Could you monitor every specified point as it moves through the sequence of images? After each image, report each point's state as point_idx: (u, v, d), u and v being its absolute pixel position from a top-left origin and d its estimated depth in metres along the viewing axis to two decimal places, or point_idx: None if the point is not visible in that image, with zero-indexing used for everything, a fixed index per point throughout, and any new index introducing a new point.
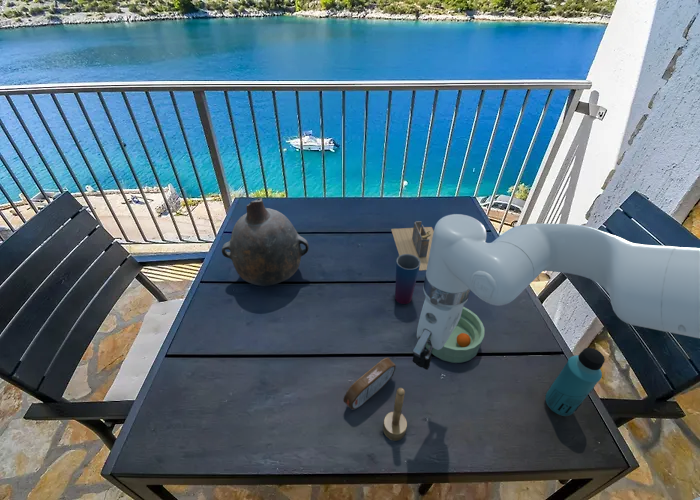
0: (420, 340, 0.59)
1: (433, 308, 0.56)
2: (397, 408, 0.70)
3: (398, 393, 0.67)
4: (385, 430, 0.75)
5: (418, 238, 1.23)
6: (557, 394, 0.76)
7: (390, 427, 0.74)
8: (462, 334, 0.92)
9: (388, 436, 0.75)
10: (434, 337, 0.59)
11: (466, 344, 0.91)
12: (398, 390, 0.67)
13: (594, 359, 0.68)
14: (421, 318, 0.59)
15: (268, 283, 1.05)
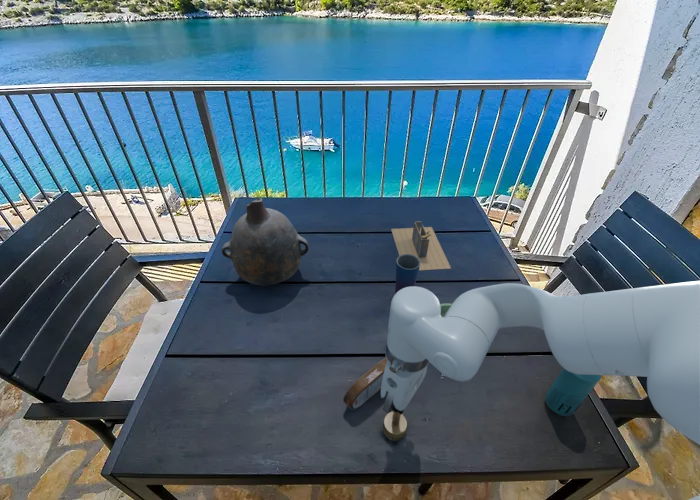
0: (386, 402, 0.62)
1: (393, 374, 0.57)
2: None
3: None
4: (385, 430, 0.75)
5: (418, 238, 1.23)
6: (557, 394, 0.76)
7: (390, 427, 0.74)
8: None
9: (388, 436, 0.75)
10: (396, 400, 0.60)
11: None
12: None
13: None
14: (383, 381, 0.60)
15: (268, 283, 1.05)
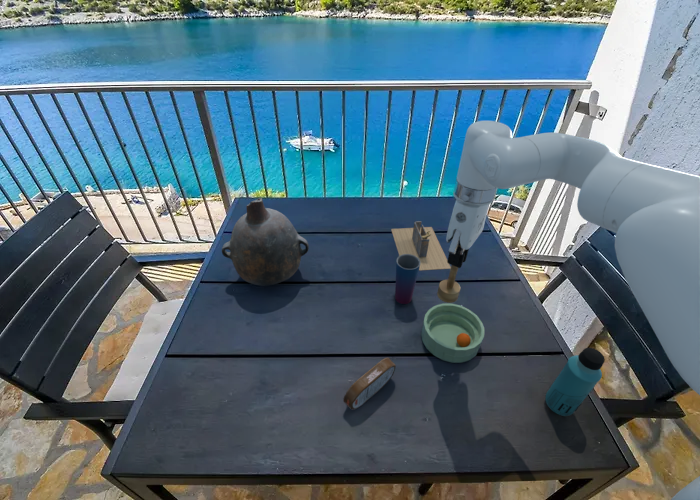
0: (452, 242, 0.70)
1: (463, 207, 0.65)
2: None
3: (458, 245, 0.75)
4: (440, 293, 0.83)
5: (418, 238, 1.23)
6: (557, 394, 0.76)
7: (445, 290, 0.82)
8: (462, 334, 0.92)
9: (443, 298, 0.83)
10: (463, 236, 0.68)
11: (466, 344, 0.91)
12: None
13: (594, 359, 0.68)
14: (452, 219, 0.68)
15: (268, 283, 1.05)
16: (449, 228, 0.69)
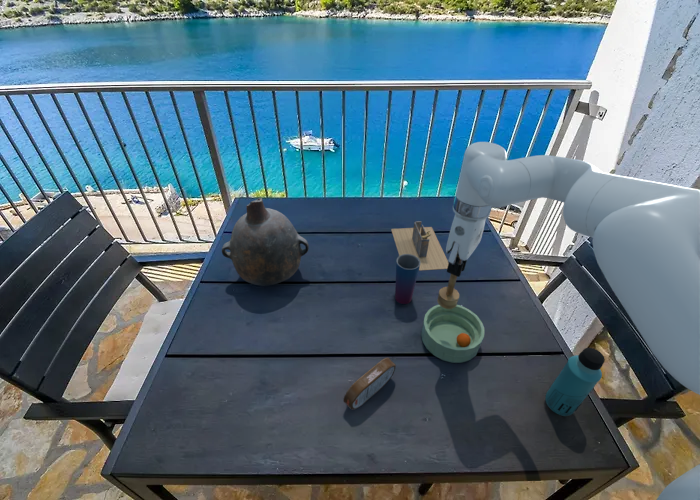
0: (451, 254, 0.74)
1: (462, 221, 0.70)
2: None
3: None
4: (440, 300, 0.87)
5: (418, 238, 1.23)
6: (557, 394, 0.76)
7: (445, 296, 0.87)
8: (462, 334, 0.92)
9: (443, 305, 0.88)
10: (461, 248, 0.72)
11: (466, 344, 0.91)
12: None
13: (594, 359, 0.68)
14: (451, 232, 0.72)
15: (268, 283, 1.05)
16: (448, 240, 0.74)
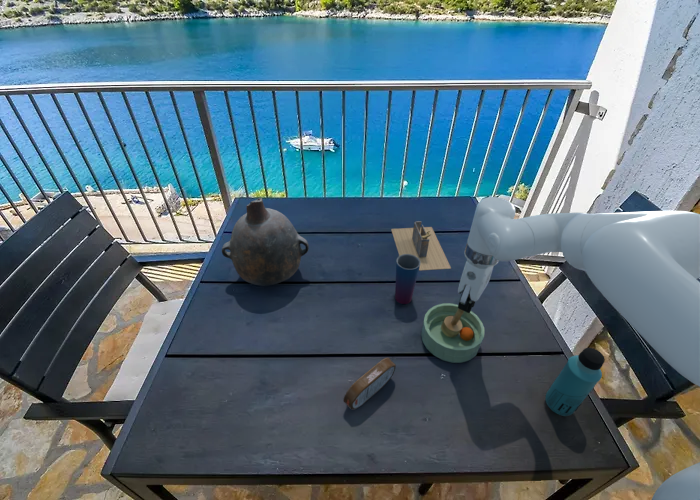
0: (463, 295, 0.80)
1: (473, 267, 0.76)
2: None
3: None
4: (446, 330, 0.94)
5: (418, 238, 1.23)
6: (557, 394, 0.76)
7: (451, 327, 0.93)
8: (469, 330, 0.93)
9: (448, 334, 0.94)
10: (473, 290, 0.78)
11: (461, 336, 0.94)
12: None
13: (594, 359, 0.68)
14: (463, 276, 0.78)
15: (268, 283, 1.05)
16: (460, 283, 0.79)
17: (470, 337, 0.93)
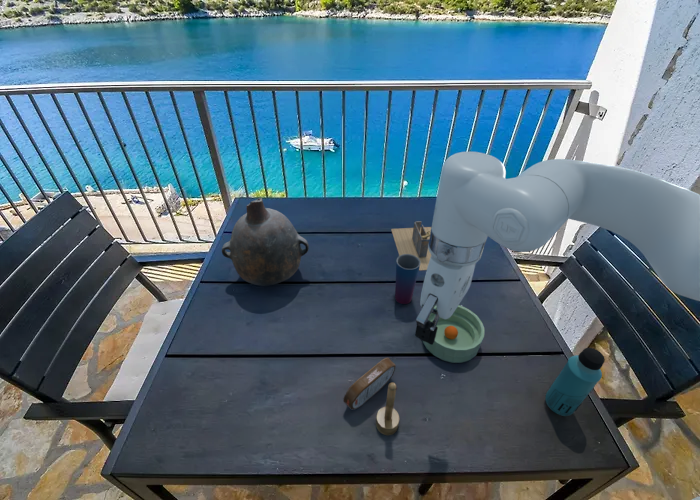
0: (424, 307, 0.50)
1: (440, 267, 0.48)
2: (391, 403, 0.71)
3: (391, 388, 0.68)
4: (380, 428, 0.75)
5: (418, 238, 1.23)
6: (557, 394, 0.76)
7: (384, 424, 0.75)
8: None
9: (384, 433, 0.76)
10: (441, 303, 0.50)
11: None
12: (390, 385, 0.68)
13: (594, 359, 0.68)
14: (426, 281, 0.50)
15: (268, 283, 1.05)
16: (423, 291, 0.51)
17: (445, 334, 0.95)
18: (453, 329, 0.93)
